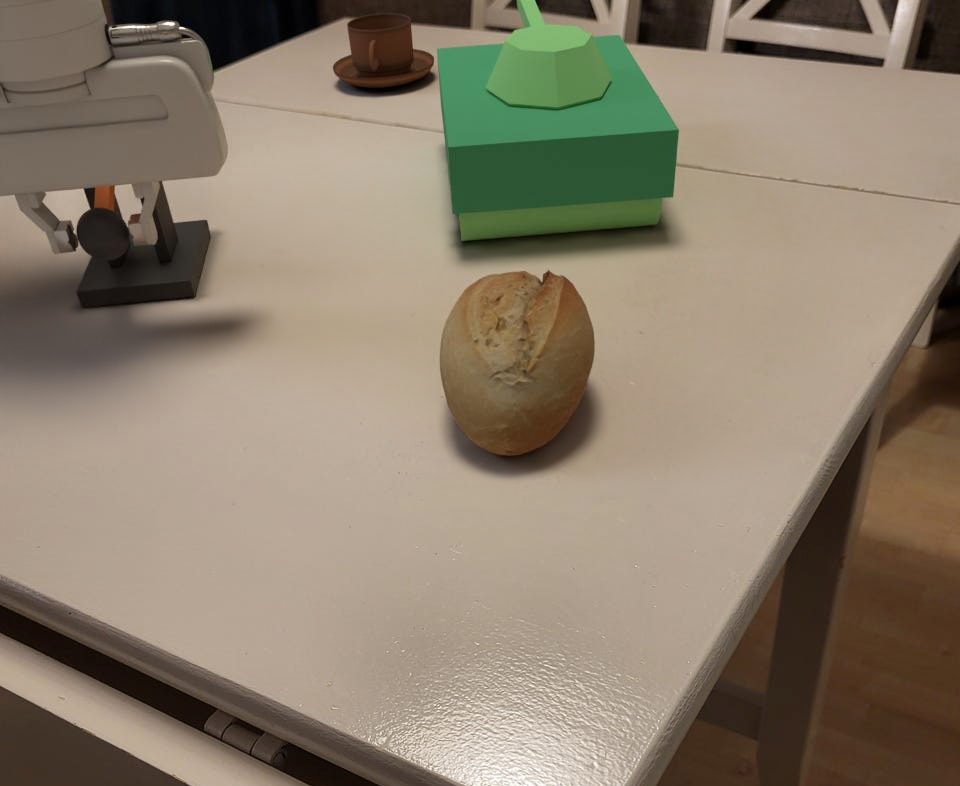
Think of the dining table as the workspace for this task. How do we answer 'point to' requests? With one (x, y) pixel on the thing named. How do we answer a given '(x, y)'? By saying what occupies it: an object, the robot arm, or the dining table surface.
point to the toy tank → (553, 133)
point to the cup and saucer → (382, 53)
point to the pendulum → (103, 228)
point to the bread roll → (516, 359)
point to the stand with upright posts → (148, 262)
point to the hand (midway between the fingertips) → (107, 246)
